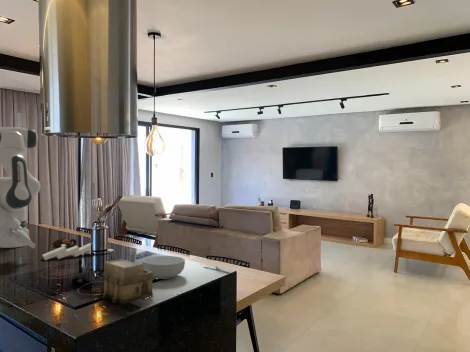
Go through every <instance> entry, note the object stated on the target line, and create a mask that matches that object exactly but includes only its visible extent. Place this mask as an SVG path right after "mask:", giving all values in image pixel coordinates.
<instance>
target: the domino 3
mask: <svg viewBox="0 0 470 352" xmlns="http://www.w3.org/2000/svg"><path fill="white" fill-rule="evenodd" d="M91 244H92V243H91V242H89V243H86V244H85V245H82V246H81V247H79V250H80V251H78V252H75V253H73V254H71V256H72V257H75V258H76V257H78V256H80V255H82V254H84V253H86V252H87V251H89V250H91Z"/></svg>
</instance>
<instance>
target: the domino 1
mask: <svg viewBox="0 0 470 352" xmlns="http://www.w3.org/2000/svg"><path fill="white" fill-rule="evenodd" d="M64 252H67V250H66V246H65V245H61V247H60V248H54V249H53V250H50V251H48V252H46V253H44V254H43V253H42V257H43V260H44V261H47V260H49V259H52V258H54V257H57V255H59V254H62V253H64Z"/></svg>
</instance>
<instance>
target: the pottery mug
mask: <svg viewBox="0 0 470 352" xmlns="http://www.w3.org/2000/svg"><path fill="white" fill-rule="evenodd" d="M77 242H78V241H77V239H76V238H71V239H67V237H65V236H64V237H61V238H59V239H57V240H55V241H53V242H52V249H57V248H60V247H62V245H64V246H65V248H66V249H69V248H71V247H74V246H77V244H78V243H77Z"/></svg>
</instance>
